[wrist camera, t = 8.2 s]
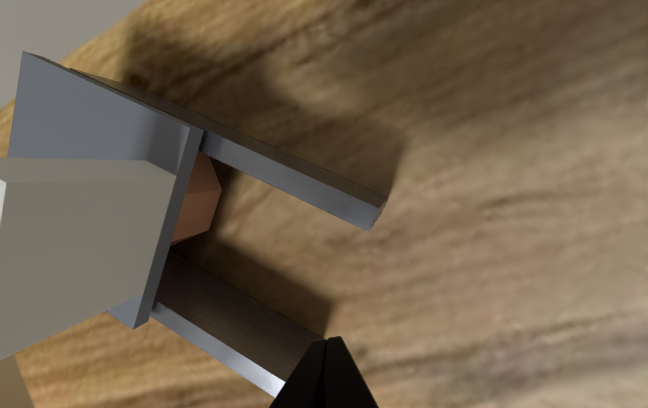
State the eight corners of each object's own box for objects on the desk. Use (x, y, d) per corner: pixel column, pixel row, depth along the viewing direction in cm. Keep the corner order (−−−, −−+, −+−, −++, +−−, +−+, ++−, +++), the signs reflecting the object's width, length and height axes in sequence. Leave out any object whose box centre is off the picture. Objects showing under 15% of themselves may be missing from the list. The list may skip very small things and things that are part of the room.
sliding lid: (204, 130, 15) (18, 98, 8) (147, 321, 18) (-30, 423, 11) (43, 57, 18) (-205, -16, 11) (15, 233, 21) (-200, 270, 13)
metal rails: (388, 197, 19) (379, 208, 14) (316, 352, 21) (288, 406, 16) (142, 88, 23) (70, 68, 18) (108, 228, 25) (38, 243, 21)
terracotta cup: (232, 158, 21) (179, 156, 17) (200, 257, 23) (144, 280, 18) (145, 118, 23) (75, 105, 18) (122, 212, 25) (53, 223, 20)
